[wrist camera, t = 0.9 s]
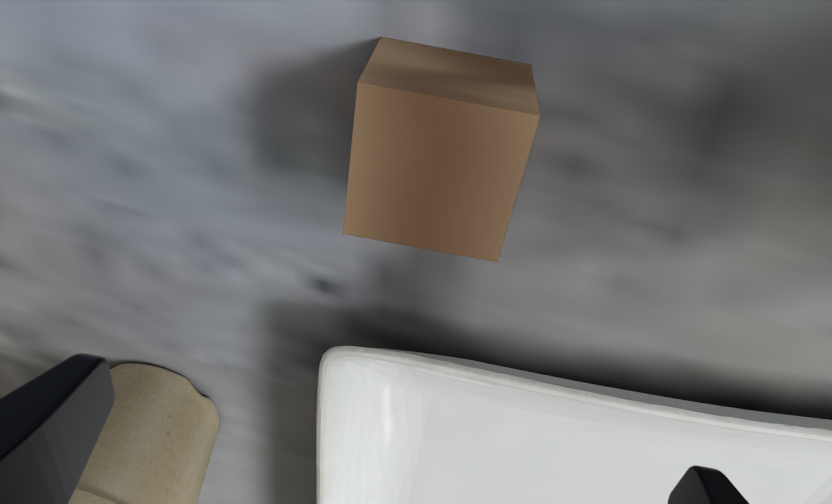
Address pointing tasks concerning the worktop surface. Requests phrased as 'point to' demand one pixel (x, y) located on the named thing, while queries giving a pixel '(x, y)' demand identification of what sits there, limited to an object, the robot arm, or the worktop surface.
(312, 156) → the worktop surface
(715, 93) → the worktop surface
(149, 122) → the worktop surface
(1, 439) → the robot arm
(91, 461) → the flower pot
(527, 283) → the worktop surface
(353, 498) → the square plate
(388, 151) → the walnut block
